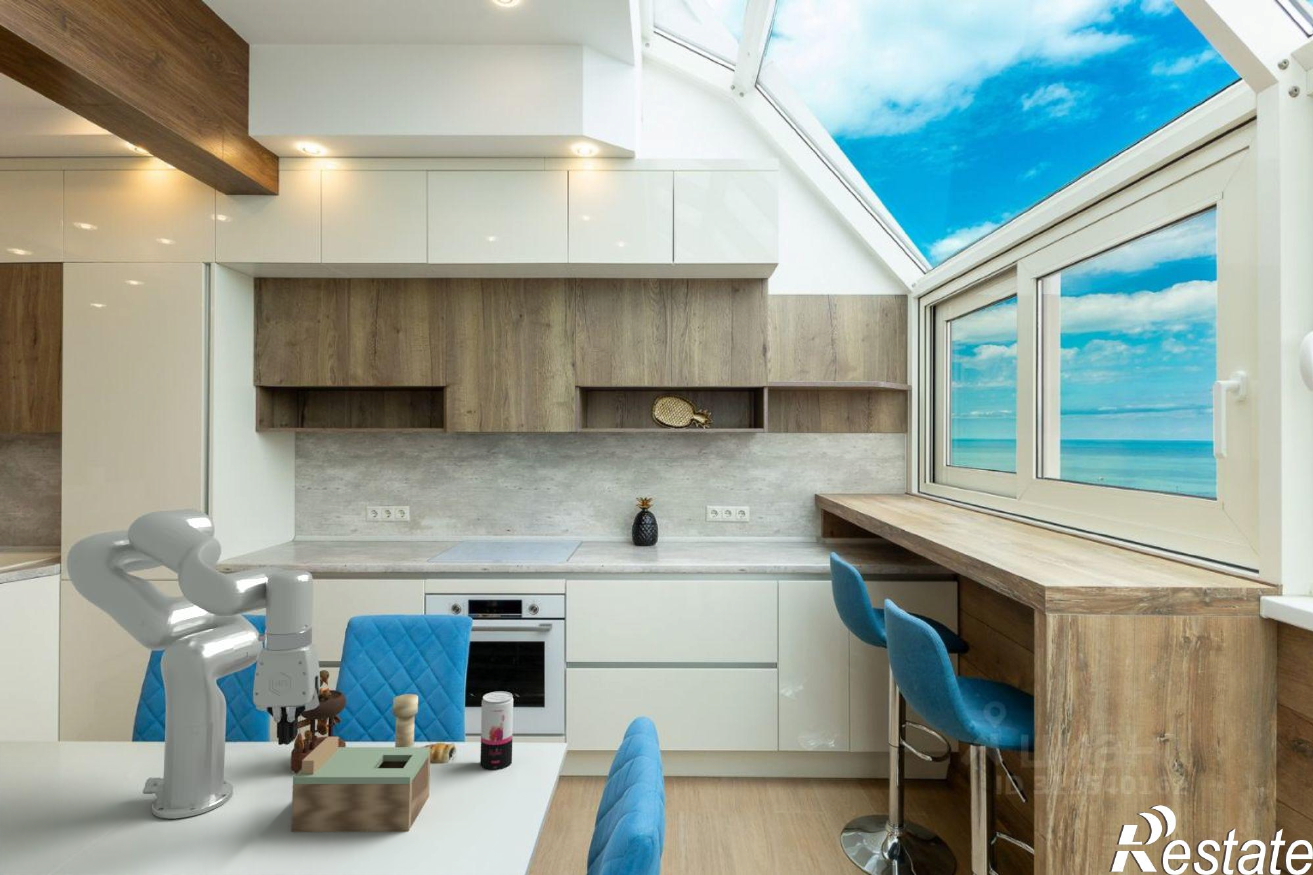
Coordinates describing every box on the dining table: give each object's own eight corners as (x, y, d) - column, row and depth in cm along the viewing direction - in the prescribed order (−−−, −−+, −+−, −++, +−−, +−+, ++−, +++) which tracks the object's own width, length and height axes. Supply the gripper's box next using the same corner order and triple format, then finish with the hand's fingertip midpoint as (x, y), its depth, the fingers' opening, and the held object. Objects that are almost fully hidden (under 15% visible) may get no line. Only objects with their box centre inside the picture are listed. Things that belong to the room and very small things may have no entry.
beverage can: (500, 777, 139) (502, 703, 139) (473, 771, 141) (475, 699, 142) (517, 763, 145) (519, 693, 146) (491, 758, 147) (493, 689, 148)
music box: (320, 780, 136) (316, 680, 137) (273, 779, 138) (269, 680, 139) (366, 748, 151) (362, 658, 152) (323, 747, 153) (319, 659, 154)
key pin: (387, 782, 136) (389, 702, 136) (395, 771, 141) (398, 694, 141) (411, 782, 136) (413, 702, 137) (419, 771, 141) (421, 694, 141)
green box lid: (292, 784, 116) (293, 763, 116) (324, 753, 128) (324, 734, 128) (409, 783, 117) (410, 763, 117) (430, 753, 129) (430, 734, 129)
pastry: (404, 767, 143) (405, 748, 143) (418, 753, 150) (418, 736, 150) (447, 769, 142) (447, 751, 143) (459, 755, 149) (459, 738, 149)
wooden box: (291, 837, 116) (292, 784, 116) (322, 801, 128) (324, 753, 128) (408, 836, 117) (409, 784, 117) (429, 801, 129) (430, 753, 129)
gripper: (234, 645, 119) (232, 751, 118) (321, 644, 119) (319, 749, 119) (258, 634, 126) (256, 734, 126) (339, 633, 127) (338, 732, 126)
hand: (287, 741), depth 122 cm, fingers closed
